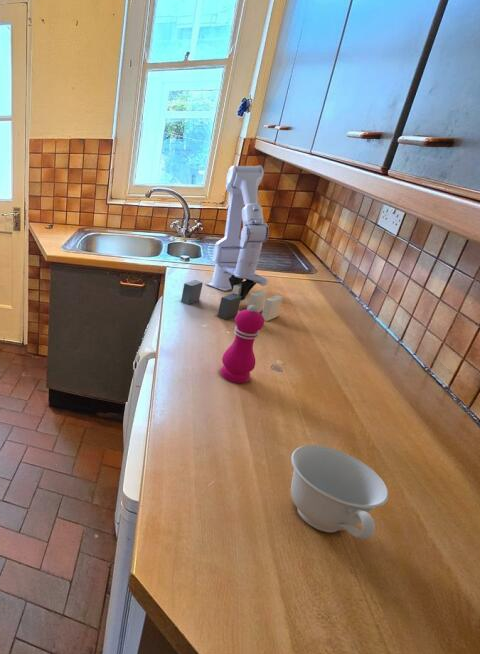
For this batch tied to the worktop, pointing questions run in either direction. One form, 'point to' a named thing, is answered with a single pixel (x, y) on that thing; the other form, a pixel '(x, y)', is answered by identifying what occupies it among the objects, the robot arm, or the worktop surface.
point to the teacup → (335, 490)
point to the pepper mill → (242, 346)
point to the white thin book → (238, 291)
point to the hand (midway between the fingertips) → (238, 298)
